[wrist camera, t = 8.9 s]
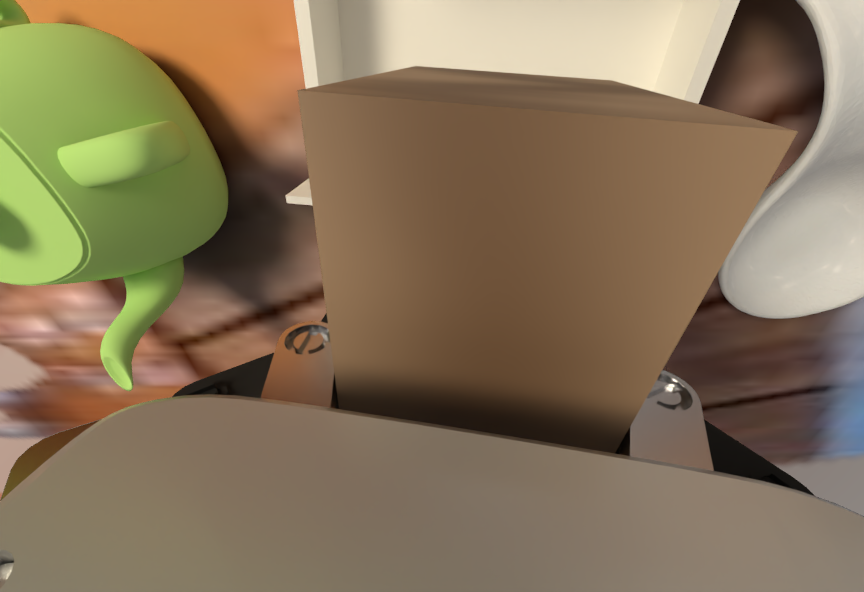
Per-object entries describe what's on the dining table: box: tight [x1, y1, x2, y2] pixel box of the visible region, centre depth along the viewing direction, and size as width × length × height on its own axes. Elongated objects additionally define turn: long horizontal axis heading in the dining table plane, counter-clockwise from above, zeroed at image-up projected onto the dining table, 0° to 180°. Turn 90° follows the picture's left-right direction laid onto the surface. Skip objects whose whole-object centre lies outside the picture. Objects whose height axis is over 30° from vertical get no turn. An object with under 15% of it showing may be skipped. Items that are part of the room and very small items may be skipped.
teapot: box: [0, 0, 228, 391], centre depth 25 cm, size 19×20×14 cm
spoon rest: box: [718, 0, 864, 319], centre depth 22 cm, size 24×12×7 cm, turn 30°
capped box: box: [298, 66, 798, 454], centre depth 10 cm, size 5×12×7 cm, turn 177°
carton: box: [286, 0, 740, 205], centre depth 18 cm, size 22×17×11 cm
